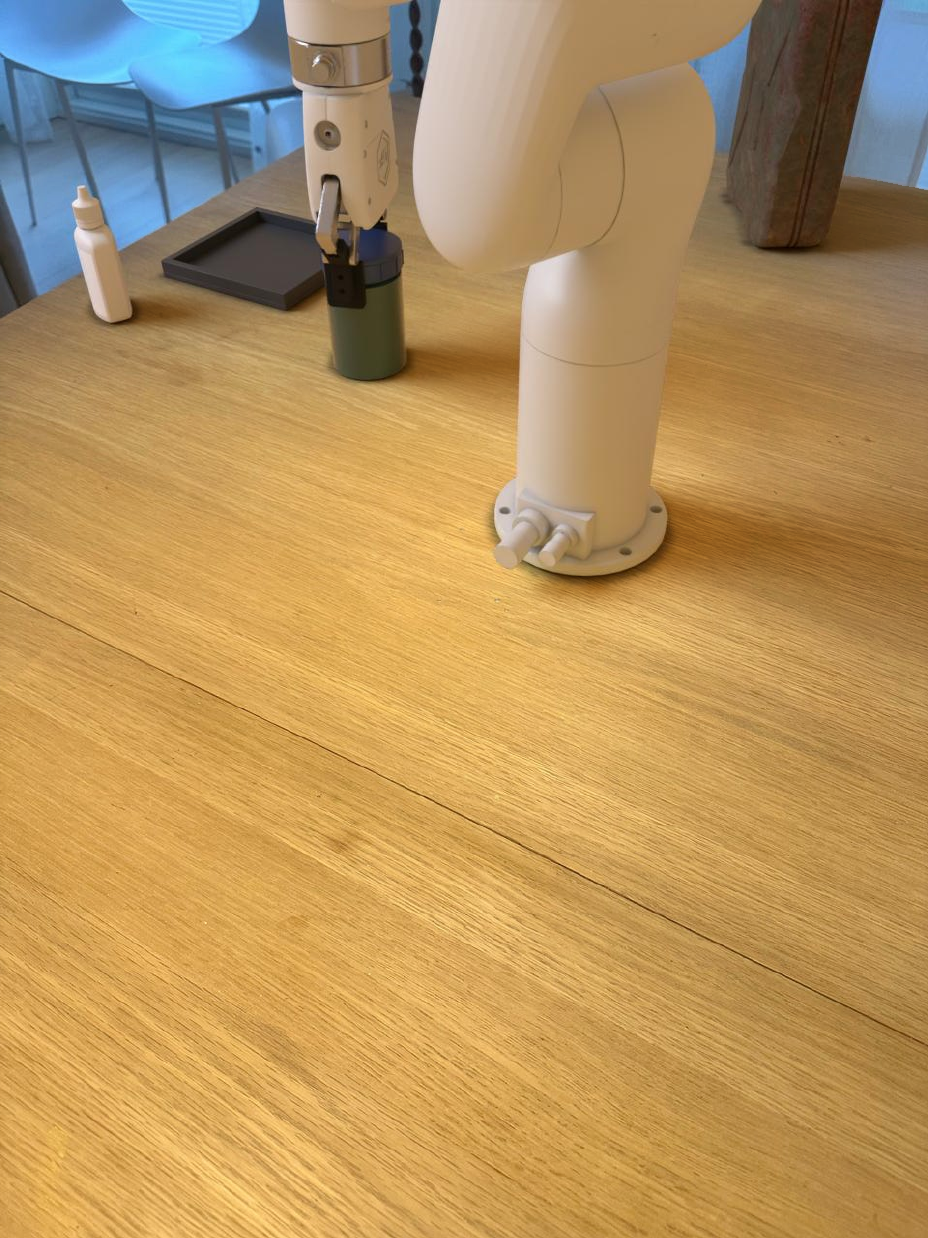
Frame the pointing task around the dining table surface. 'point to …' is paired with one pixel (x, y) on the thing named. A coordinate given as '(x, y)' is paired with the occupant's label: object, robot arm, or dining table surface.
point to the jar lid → (377, 253)
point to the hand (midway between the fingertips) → (359, 284)
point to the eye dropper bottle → (100, 260)
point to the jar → (370, 333)
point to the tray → (254, 259)
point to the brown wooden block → (797, 115)
